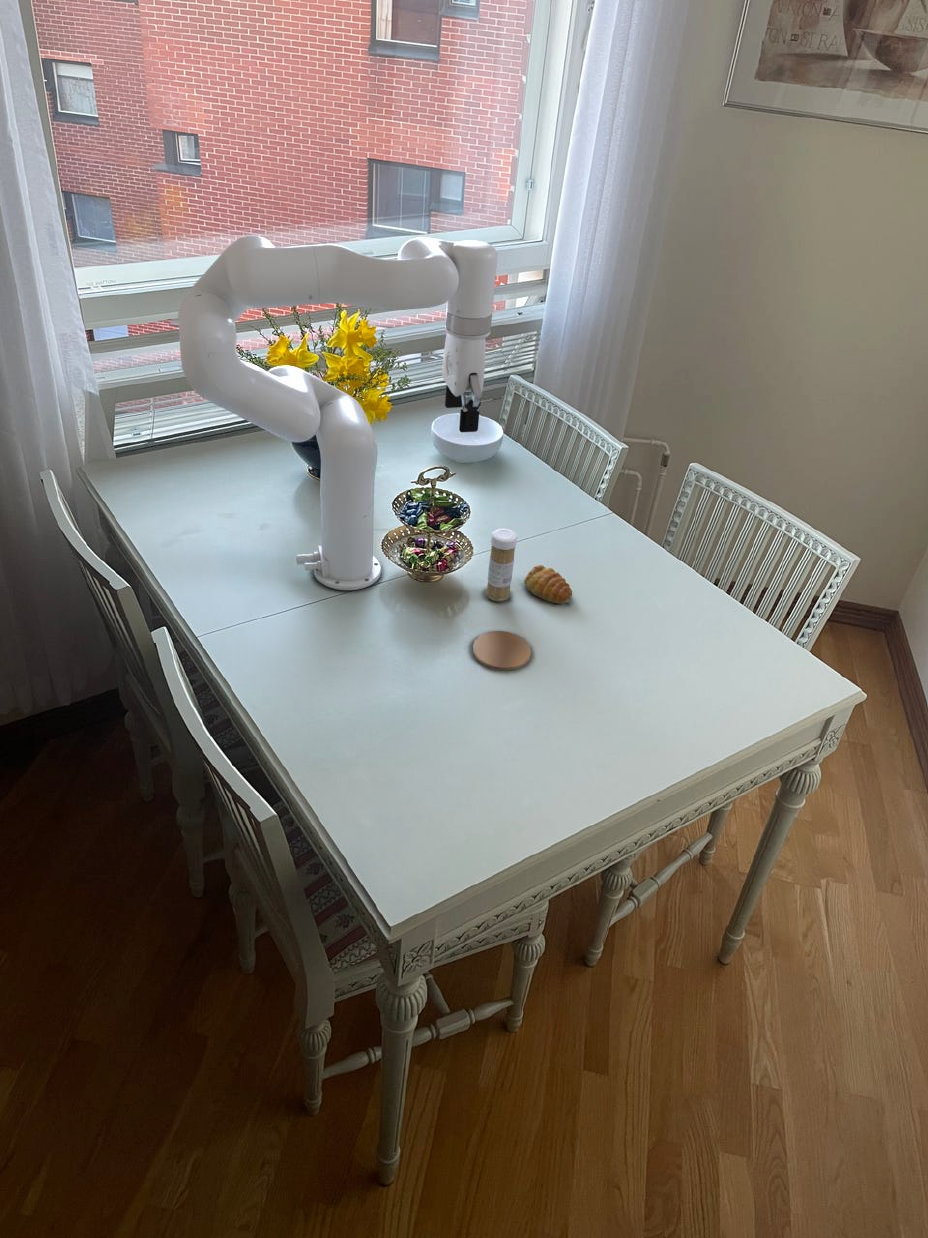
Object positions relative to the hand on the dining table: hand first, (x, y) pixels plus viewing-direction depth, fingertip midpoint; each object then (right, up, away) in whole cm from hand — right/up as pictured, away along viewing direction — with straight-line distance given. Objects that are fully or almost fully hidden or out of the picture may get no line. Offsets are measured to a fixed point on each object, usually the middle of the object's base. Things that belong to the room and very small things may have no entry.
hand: (460, 418), depth 162 cm
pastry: (+16, -30, +13) cm, 36 cm away
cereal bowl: (+1, +3, +55) cm, 55 cm away
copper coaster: (+7, -41, -2) cm, 41 cm away
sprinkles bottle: (+7, -31, +11) cm, 33 cm away
